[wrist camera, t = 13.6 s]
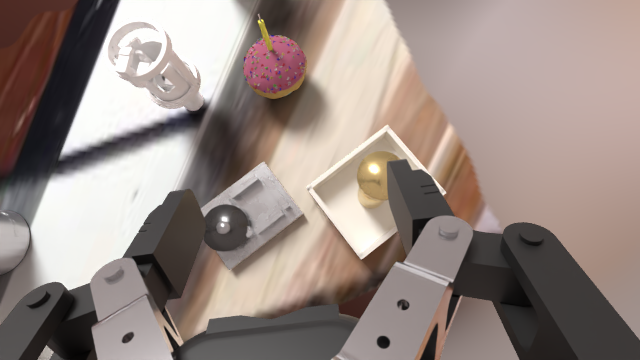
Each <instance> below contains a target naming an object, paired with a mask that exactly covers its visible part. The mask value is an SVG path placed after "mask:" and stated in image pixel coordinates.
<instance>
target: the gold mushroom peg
mask: <svg viewBox="0 0 640 360" xmlns="http://www.w3.org/2000/svg"><path fill="white" fill-rule="evenodd" d="M393 160H400V158H399V157H398V156H396V155H395V154H393V153H390V152H386V151H377V152H373V153H371V154H369V155H367V156H366V157H365V158H364V159H363V160H362V161H361V163H360V165H359V167H358V171H357V183H358V186H359V189H358V200H359V202H360V203H361V204H362V205H363V206H364V207H366V208H370V209H373V208H377V207H379V206H380V205H381V204H382V203H383V202H384V201H386V200H388V190H387V161H393Z"/></svg>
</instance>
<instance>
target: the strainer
mask: <svg viewBox="0 0 640 360" xmlns="http://www.w3.org/2000/svg"><path fill="white" fill-rule="evenodd" d="M139 28H151V29H154V30H156V31H158V32H159V33H160V35H161V38H162V41H161V40H158V39H148V40H144V41H142V42H141V41H140V40H139V39H138V38H137V37H136V38H134V39H133V40H132V41H130V42H129V43H128V44H127V43H126V44H125V47H121V48H120V47H118V46H117V45H118V43H119V42H120V40H121V39H122V38H123V37H124V36H125V35H126V34H128V33H129V32H131V31H133V30H136V29H139ZM103 55H104V60H105V63H106V65H107V66H108V68H109V69H110V70H111V71H112V72H114V73H115V74H117V75H118V76H119V77H121V78H122V79H124V80H127V81H129V82H130V83H132V84H133V85H134V86H136V87H141V88H145V91H146V94H147V95H148V97H149V98H150V99H151V100H152V101H154V102H155V103H156V104H158V105H159V106H161V107H164V108H168V109H175V108H180V107H183V106H184V107H185V108H186V109H188V110H190V111H196V110H198V109H200V108H201V107H202V105H203V103H204V98H203V96H202V94H201V93H200V92H198V91H199V88H200V83H201V79H200V74H199V72H198V70H197V68H196V67H195V66H194V65H193V63H192V62H191V61H190V60H189V59H187V58H186V57H183V56H180V55H177V54H176V53H175V52H174V51H173V50H172V44H171V40H170V38H169V36H168V34H167V33H166V32H165V31H164V30H163V28H162V27H161V26H160V25H159V24H158V23H156V22H155V21H153V20H151V19H148V18H142V17H138V18H131V19H128V20H126V21H123V22H122V23H120V24H119V25H117V26H116V27H115V28H114V29H113V30H112V31H111V32H110V34H109V35H108V37H107V39H106V41H105V44H104V49H103ZM115 58H116V59H118V61H117V63H116V64H115V63H114V61H113V59H115ZM187 65H188V66H190V67H191V69H192V71H191V70H190V69H189V68H188V67H187ZM192 72H193V73H192ZM157 85H159V86H160V87H161V88H163V89H164V90H165V91H162V90H160V89H159V88H158V87H157ZM155 95H156V96H157V97H158V98H159V99H161V100H162V101H160V100H158V99H157V98H156V97H155Z"/></svg>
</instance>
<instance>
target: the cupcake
mask: <svg viewBox="0 0 640 360" xmlns="http://www.w3.org/2000/svg"><path fill="white" fill-rule="evenodd" d="M258 17H259V21H258V24H259V26H260V29H261V32H262V35H263V37H262V39H261V38H259V40H257V41H256V42H255V43H253V46H251V48H250V49H249V51H247V54H246V57H244V67H243V69H244V76H245V78H246V80H247V82H248V84H249V85H250V87H251V88H252V89H253V90H254V91H255V92H256V93H257V94H258V95H260V96H263V97H267V98H270V99H276V98H280V97H284V96H287V95H289V94H290V93H291V92H292V91H294V90H297V89H298V88H299V87H300V86H301V84H302V82H303V80H304V77H305V73H306V67H307V61H306V57H305V55H304V53H303V51H302V50H301V49H300V48H299V46H298V44H297V42H294V41H293V40H291V39H290V38H288V37H287V38H286V37H282V36H281V35H280V36H279V35H276V36H274V35H271V36H268V33H267V30H266V27H265V24H264V21H263V20H262V19H261V18H260V15H259V14H258Z"/></svg>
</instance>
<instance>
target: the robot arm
mask: <svg viewBox="0 0 640 360" xmlns="http://www.w3.org/2000/svg"><path fill="white" fill-rule="evenodd" d="M387 190H388V200H389V205H390V209H391V212H392V215H393V218H394V220H395V223H396V226H397V229H398V232H399V235H400V238H401V241H402V244H403V247H404V250H405V253H406V255H407V258H406V259H405V261H404V262H403V263H402V262H400V261H397V262H396V263H395V264H394V265H393V267H392V268H391V270H390V271H389V273H388V275H387V276H386V278H385V279H384V281H383V283H382V284H381V286H380V288H379V289H378V291H377V293H376V294H375V296H374V297H373V299H372V301H371V302H370V304H369V305H368V307H367V309H366V310H365V312H364V314H363V315H362V317H361V318H360V319H358V318H355V317H352V316H349V315H344V314H340V313H339V308H338V304H331V305H323V306H315V307H306V308H303V309H300V310H298V311H295V312H292V313H289V314H287V315H284V316H281V317H278V318H275V319H263V318H256V317H248V316H241V315H240V316H232V317H224V318H216V319H209V323H208V327H207V330H206V331H204V332H202V333H200V334H198V335H196V336H194V337H193V338H191V339H189V340H188V341H186V342H185V343H183V341H182V339H181V337H180V335H179V333H178V331H177V328H176V326H175V324H174V322H173V320H172V318H171V316H170V314H169V312H168V310H167V308H166V307H165V304H166V302H167V300H169V299H177V298H181V296H182V293H183V290H184V288H185V285H186V282H187V280H188V277H189V274H190V272H191V269H192V266H193V263H194V261H195V258H196V255H197V253H198V250H199V247H200V245H201V242H202V239H203V237H204V234H205V230H206V222H205V218H204V216H203V213H202V211H201V209H200V207H199V205H198V202H197V200H196V198H195V196H194V194H193V192H192V191H191V190H190V189H186V190H179V191H172V192H170V193H169V194H168V195H167V197H166V199H165V200H164V202H163V204H162V205H159V206H158V207H157V208H156V209H155V210H153V211H152V212H151V213H150V214H149V215H148V217H147V219H146V220H145V222H144V225H143V226H142V227H141V228H140V230H139V233H137V235H136V236H135V238H134V240H133V241H132V243H131V244H130V246H129V248H128V249H127V251H126V252H125V254H124V256H123V257H122V258H121V259H117V260H114V261H112V262H110V263H108V264H106V265H105V266H103V267H102V268H101V269H100V270H99V271H98V272H96V274H95V275H94V276H93V278H92V280H91V282H90V283H88V284H86V285H83V286H80V287H78V288H75V289H72V290H69V291H68V290H67V289H66V287H65V286H64V285H63V284H61V283H59V282H52V283H48V284H45V285H42V286H40V287H38V288H36V289H35V290H33V291H31V292H30V293H29V294H27V295H26V296H25V297H24V298H23V299H21V300H20V302H19V303H18V304H17V305H16V306H15V308H14V309H13V310H12V311H11V313H10V314H9V315H8V317H7V318H6V319H5V320H4V322H3V323H2V324H1V325H0V360H37V359H38V357H39V356H40V354H41V353H42V351H43V349H44V348H45V346H46V345H47V346H48V347H49V348H50V349H51V350H52V351H54V353H53V355H52V357H51V358H50V360H440V358H441V354H442V351H443V347H444V343H445V340H446V337H447V334H448V332H449V329H450V327H451V324H452V322H453V319H454V317H455V314H456V311H457V309H458V306H459V304H460V301H461V299H462V296H466V297H472V298H478V299H484V300H490V301H492V302H493V304H494V307H495V309H496V311H497V313H498V315H499V317H500V319H501V321H502V323H503V326H504V328H505V330H506V332H507V334H508V336H509V338H510V341H511V343H512V345H513V347H514V349H515V351H516V353H517V355H518V357H519V360H640V340H639V339H638V337H637V336H636V335H635V334H634V332H633V331H632V330H631V329H630V328H629V326H628V325H627V324H626V323H625V321H624V320H623V319H622V318H621V316H619V314H618V313H617V312H616V311H615V309H614V308H613V307H612V305H611V304H610V303H609V302H608V300H606V298H605V297H604V296H603V294H602V293H601V292H600V291H599V289H598V288H597V287H596V286H595V284H594V283H593V282H592V281H591V280H590V278H589V277H588V276H587V275H586V273H585V272H584V271H583V270H582V268H581V267H580V266H579V265H578V264H577V262H576V261H575V260H574V259H573V257H572V256H571V255H570V254H569V252H568V251H567V250H566V249H565V247H564V246H563V245H562V244H561V242H560V241H559V240H558V239H557V238H556V236H555V235H554V234H553V233H551V232H550V231H549V230H547V229H545V228H543V227H541V226H538V225H535V224H532V223H524V222H523V223H514V224H511V225H509V226H507V227H506V228H505V229H504V232H503V234H495V233H485V232H479V231H475V230H472V228H471V226H470V225H469V224H468V223H467V222H465V221H464V220H462V219H460V218H457V217H455V216H454V214H453V212H452V211H451V209H450V207H449V205H448V204H447V202H446V200H445V199H444V197H443V195H442V194H441V193H440V190H439V188H438V187H437V186H436V183H435V182H434V180H433V178H432V176H431V175H429V174H428V173H426V172H425V171H423V170H422V169H419V170H412V169H411V167H410V165H409V163H408V161H407V159H400V160H393V161H387ZM29 239H30V234H29V228H28V225H27V223H26V221H25V220H24V218H23V217H22V216H20V215H19V214H18V213H16V212H14V211H9V210H0V275H1V274H5V273H7V272H9V271H10V270H12V269H13V268H15V267H16V266H17V265H18V264H19V263H20V262H21V260H22V259H23V257H24V256H25V254H26V251H27V249H28V245H29Z"/></svg>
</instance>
